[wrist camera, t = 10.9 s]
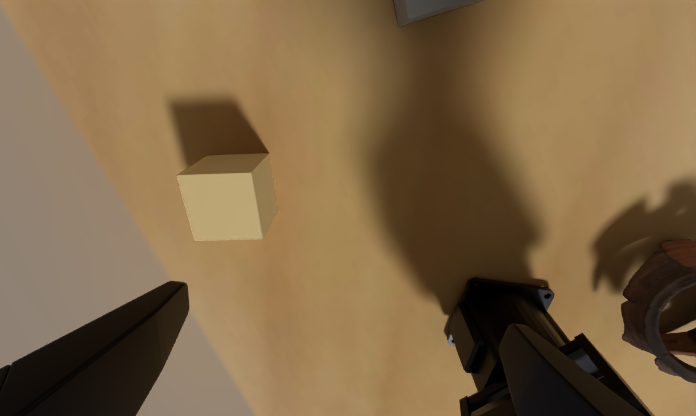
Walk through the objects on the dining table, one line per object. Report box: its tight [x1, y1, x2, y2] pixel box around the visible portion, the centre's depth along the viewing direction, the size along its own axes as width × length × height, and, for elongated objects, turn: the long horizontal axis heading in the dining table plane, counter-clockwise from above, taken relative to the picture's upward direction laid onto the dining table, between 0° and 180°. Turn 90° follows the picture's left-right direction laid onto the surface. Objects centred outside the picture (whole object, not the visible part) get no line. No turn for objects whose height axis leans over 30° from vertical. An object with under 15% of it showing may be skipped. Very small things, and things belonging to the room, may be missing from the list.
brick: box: [176, 153, 278, 241], centre depth 20 cm, size 4×4×4 cm
